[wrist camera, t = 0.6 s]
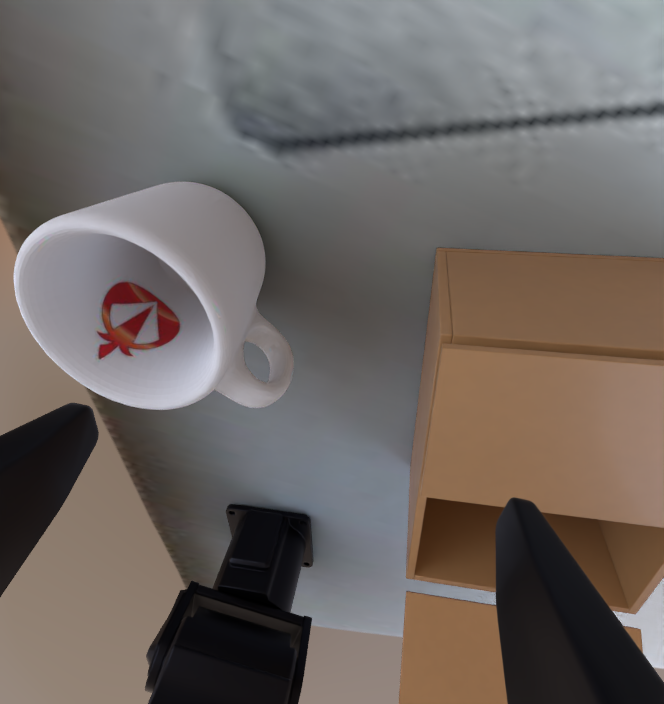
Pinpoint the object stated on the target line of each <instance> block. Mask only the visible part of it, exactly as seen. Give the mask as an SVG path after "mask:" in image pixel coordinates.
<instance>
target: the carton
mask: <svg viewBox="0 0 664 704" xmlns="http://www.w3.org/2000/svg"><path fill="white" fill-rule="evenodd" d="M512 497H516V498H521V499H525V500H529V501H532V502H533V503H534V504H535V505H536V506H537V508H538V509H539V510H540V512H541V513H542V514H543V516H544V517H545V519H546V520H547V521H548V523H549V524H550V526H551V527H552V528H553V530H554V531H555V532H556V534H557V535H558V537H559V538H560V539H561V541H562V542H563V544H564V545H565V546H566V548H567V549H568V550H569V552H570V553H571V555H572V556H573V557H574V559H575V560H576V562H577V563H578V564H579V566H580V567H581V568H582V570H583V571H584V573H585V574H586V575H587V577H588V578H589V580H590V581H591V582H592V584H593V585H594V586H595V588H596V589H597V591H598V592H599V593H600V595H601V596H602V598H603V599H604V600H605V602H606V603H607V604H608V606H609V607H610V609H611V610H612V611H617V612H624V613H630V614H636V613H637V612H638V611H639V609H640V608H641V607H642V605H643V604H644V603H645V601H646V600H647V599H648V597H649V596H650V595H651V593H652V592H653V591H654V589H655V588H656V587H657V585H658V584H659V583H660V581H661V580H662V579H663V577H664V258H647V257H626V256H605V255H583V254H562V253H540V252H519V251H498V250H476V249H455V248H437V249H436V257H435V265H434V273H433V282H432V290H431V298H430V307H429V315H428V323H427V332H426V340H425V348H424V357H423V365H422V373H421V382H420V390H419V398H418V407H417V415H416V423H415V432H414V440H413V448H412V457H411V465H410V487H409V512H408V537H407V562H406V578H407V579H414V580H420V581H427V582H433V583H439V584H446V585H452V586H458V587H465V588H471V589H477V590H484V591H490V592H496V538H495V531H496V524H497V521H498V518H499V517H500V515H501V513H502V511H503V510H504V508H505V506H506V504H507V502H508V501H509V499H511V498H512Z"/></svg>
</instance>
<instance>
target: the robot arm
mask: <svg viewBox="0 0 664 704" xmlns="http://www.w3.org/2000/svg"><path fill="white" fill-rule="evenodd" d="M97 440H98V428H97V425H96V421H95V417H94V413H93V410H92V409H91V407H89V406H87V405H82V404H77V403H69V404H67V405H64V406H62V407H60V408H58V409H56V410H54V411H52V412H50V413H48V414H45V415H43V416H41V417H39V418H37V419H35V420H33V421H31V422H29V423H26V424H24V425H22V426H20V427H18V428H16V429H14V430H12V431H9V432H7V433H5V434H3V435H1V436H0V597H1V595H2V594H3V592H4V591H5V589H6V588H7V586H8V585H9V583H10V582H11V581H12V579H13V578H14V576H15V575H16V573H17V572H18V570H19V569H20V567H21V566H22V564H23V563H24V561H25V560H26V558H27V557H28V555H29V554H30V553H31V551H32V550H33V548H34V547H35V545H36V544H37V542H38V541H39V539H40V538H41V536H42V535H43V534H44V532H45V531H46V529H47V527H48V526H49V525H50V523H51V522H52V520H53V519H54V517H55V516H56V514H57V513H58V511H59V510H60V508H61V507H62V505H63V503H64V502H65V500H66V498H67V496H68V495H69V493H70V491H71V489H72V487H73V485H74V483H75V482H76V480H77V478H78V476H79V474H80V473H81V471H82V469H83V467H84V465H85V463H86V461H87V459H88V458H89V456H90V454H91V452H92V450H93V449H94V447H95V445H96V443H97ZM226 514H227V518H228V522H229V526H230V530H231V534H232V540H231V542H230V545H229V547H228V550H227V553H226V555H225V558H224V560H223V563H222V565H221V568H220V571H219V573H218V576H217V578H216V581H215V583H214V586H213V589H212V588H208V587H205V586H202V585H199V583H197V582H194V581H191V583H190V585H189V587H188V589H186V590H181V591H180V593H179V595H178V597H177V599H176V602H175V604H174V606H173V608H172V611H171V612H170V614H169V616H168V618H167V620H166V621H165V623H164V625H163V626H162V628H161V629H160V631H159V633H158V634H157V636H156V638H155V639H154V641H153V643H152V644H151V646H150V648H149V650H148V653H147V655H146V657H147V661H148V664H149V670H148V679H147V682H146V686H145V691H148V692H151V693H152V695H151V697H150V700H149V703H148V704H298V702H299V697H300V693H301V688H302V682H303V677H304V670H305V663H306V656H307V649H308V641H309V635H310V628H311V621H312V618H311V617H308V616H304V617H303V616H299V615H296V614H293V613H290V612H291V608H292V603H293V599H294V595H295V591H296V587H297V582H298V578H299V574H300V570H301V566H302V567H311V566H312V565H313V548H312V535H311V522H310V518H309V517H308V516H307V515H304V514H297V513H290V512H283V511H276V510H269V509H261V508H254V507H247V506H240V505H232V504H231V505H229V506H228V507H227V510H226ZM495 538H496V608H497V619H498V627H499V636H500V644H501V653H502V661H503V670H504V678H505V686H506V695H507V703H508V704H664V682H663V681H662V679H661V678H660V677H659V675H658V674H657V672H656V671H655V670H654V668H653V667H652V665H651V664H650V663H649V661H648V660H647V659H646V657H645V656H644V654H643V653H642V652H641V650H640V649H639V647H638V646H637V645H636V643H635V642H634V640H633V639H632V638H631V636H630V635H629V634H628V632H627V631H626V629H625V628H624V627H623V625H622V624H621V622H620V621H619V620H618V618H617V617H616V616H615V614H614V613H613V611H612V610H611V609H610V607H609V606H608V604H607V603H606V602H605V600H604V599H603V598H602V596H601V595H600V593H599V592H598V591H597V589H596V588H595V586H594V585H593V584H592V582H591V581H590V580H589V578H588V577H587V575H586V574H585V573H584V571H583V570H582V568H581V567H580V566H579V564H578V563H577V562H576V560H575V559H574V557H573V556H572V555H571V553H570V552H569V550H568V549H567V548H566V546H565V545H564V544H563V542H562V541H561V539H560V538H559V537H558V535H557V534H556V532H555V531H554V530H553V528H552V527H551V526H550V524H549V523H548V521H547V520H546V519H545V517H544V516H543V514H542V513H541V512H540V510H539V509H538V508H537V506H536V505H535V504H534V503H533V502H532V501H529V500H525V499H521V498H516V497H512V498H511V499H509V501H508V502H507V504H506V506H505V508H504V510H503V511H502V513H501V515H500V517H499V518H498V521H497V524H496V531H495Z"/></svg>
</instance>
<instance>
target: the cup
mask: <svg viewBox="0 0 664 704" xmlns="http://www.w3.org/2000/svg"><path fill="white" fill-rule="evenodd" d="M265 266H266V259H265V251H264V245H263V242H262V238H261V236H260V233H259V231H258V229H257V227H256V225H255V223H254V222H253V220H252V219H251V217H250V216H249V215H248V213H247V212H246V211H245V210H244V209H243V208H242V207H241V206H240V205H239V204H238V203H237V202H236V201H235V200H233V199H232V198H231V197H229V196H228V195H226V194H225V193H223V192H221V191H219V190H217V189H215V188H213V187H210V186H207V185H204V184H200V183H194V182H171V183H165V184H161V185H157V186H153V187H150V188H147V189H144V190H140V191H137V192H134V193H131V194H128V195H125V196H121V197H118V198H115V199H112V200H109V201H106V202H102V203H99V204H96V205H93V206H90V207H86V208H83V209H80V210H77V211H74V212H71V213H67V214H64V215H61V216H58V217H56V218H54V219H51V220H49V221H48V222H46V223H44V224H42V225H41V226H40V227H38V228H37V229H36V230H35V231H34V232H32V233H31V234H30V235H29V237H28V238H27V239H26V240H25V242H24V243H23V245H22V247H21V249H20V251H19V253H18V256H17V259H16V263H15V269H14V287H15V294H16V300H17V303H18V306H19V309H20V311H21V314H22V317H23V319H24V321H25V323H26V325H27V327H28V328H29V330H30V332H31V333H32V335H33V337H34V338H35V340H36V341H37V342H38V344H39V345H40V346H41V347H42V349H43V350H44V351H45V352H46V354H47V355H48V356H49V357H50V358H51V359H52V360H53V361H54V362H55V363H56V364H57V365H58V366H59V367H60V368H61V369H63V371H65V372H66V373H67V374H69V375H70V376H71V377H73V378H74V379H75V380H77V381H78V382H79V383H81V384H82V385H84V386H86V387H87V388H89V389H91V390H92V391H94V392H96V393H98V394H100V395H102V396H104V397H106V398H108V399H111V400H113V401H116V402H119V403H122V404H125V405H128V406H132V407H137V408H143V409H154V410H167V409H176V408H180V407H184V406H188V405H190V404H193V403H195V402H197V401H199V400H201V399H202V398H204V397H206V396H207V395H208V394H209V393H211V392H212V391H213V390H215V391H218V392H220V393H221V394H223V395H225V396H226V397H228V398H229V399H231V400H233V401H235V402H237V403H239V404H241V405H243V406H246V407H250V408H263V407H266V406H269V405H271V404H272V403H274V402H275V401H277V400H278V399H279V398H280V397H281V396H282V395H283V394H284V393H285V392H286V390H287V389H288V387H289V385H290V383H291V380H292V376H293V370H294V359H293V354H292V350H291V348H290V346H289V344H288V342H287V341H286V339H285V338H284V336H283V335H282V334H281V333H280V332H279V331H278V330H277V329H276V328H275V327H274V326H273V325H272V324H271V323H269V322H268V321H267V320H266V319H265V318H264V317H263V316H262V315H261V314H260V313H259V312H258V310H257V307H256V302H257V298H258V295H259V292H260V290H261V287H262V284H263V280H264V275H265ZM246 341H247V342H251V343H254V344H255V345H257V346H258V347H260V348H261V349H262V350H263V351H264V353H265V354H266V356H267V358H268V360H269V364H270V376H269V380H268V382H267V383H266V382H263V381H260V380H259V379H257V378H256V377H255V376H254V375H253V374H252V373H251V372H250V371H249V369H248V368H247V366H246V364H245V361H244V356H243V347H244V342H246Z"/></svg>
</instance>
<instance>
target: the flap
mask: <svg viewBox="0 0 664 704" xmlns="http://www.w3.org/2000/svg"><path fill="white" fill-rule="evenodd" d="M623 627H624V628H625V629H626V631H627V632H628V634H629V635H630V636H631V638H632V639H633V640H634V642H635V643H636V645H637V646H638V647H639V649H640V650H641V652H642V653H643V650H642V638H641V630H640V629H638V628H633V627H627V626H623ZM399 704H508V703H507V695H506V686H505V678H504V670H503V661H502V653H501V644H500V636H499V627H498V619H497V608H496V605H491V604H484V603H478V602H472V601H466V600H460V599H453V598H447V597H441V596H435V595H429V594H422V593H416V592H410V591H406V601H405V616H404V631H403V647H402V661H401V676H400V691H399Z"/></svg>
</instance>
